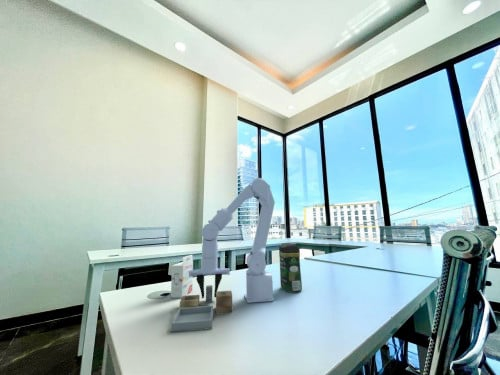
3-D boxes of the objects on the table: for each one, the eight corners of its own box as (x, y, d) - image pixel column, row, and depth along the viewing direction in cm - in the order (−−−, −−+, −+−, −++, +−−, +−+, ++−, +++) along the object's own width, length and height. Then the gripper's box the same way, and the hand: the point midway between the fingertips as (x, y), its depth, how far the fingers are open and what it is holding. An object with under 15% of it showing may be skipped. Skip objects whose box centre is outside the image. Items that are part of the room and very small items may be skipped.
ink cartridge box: (181, 290, 86) (183, 254, 89) (192, 291, 85) (193, 254, 88) (169, 297, 78) (171, 257, 81) (181, 298, 77) (183, 257, 80)
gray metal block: (212, 299, 75) (212, 285, 76) (212, 302, 73) (212, 286, 74) (206, 300, 75) (206, 285, 76) (205, 302, 73) (206, 287, 73)
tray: (213, 312, 64) (213, 305, 64) (212, 328, 54) (212, 320, 54) (178, 315, 62) (178, 308, 63) (171, 332, 52) (171, 323, 53)
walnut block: (231, 306, 69) (231, 290, 69) (232, 313, 64) (232, 295, 65) (216, 308, 68) (216, 291, 69) (215, 314, 63) (216, 296, 64)
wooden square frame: (199, 304, 71) (199, 294, 72) (197, 310, 66) (198, 300, 66) (182, 305, 70) (182, 295, 71) (179, 312, 65) (179, 301, 65)
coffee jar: (278, 286, 90) (276, 242, 93) (295, 285, 91) (293, 241, 94) (285, 293, 80) (283, 244, 84) (304, 292, 82) (301, 243, 85)
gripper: (228, 254, 81) (228, 292, 79) (190, 256, 79) (189, 294, 77) (229, 257, 75) (229, 298, 72) (188, 259, 72) (186, 301, 70)
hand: (209, 296), depth 74 cm, fingers open, 4 cm apart
